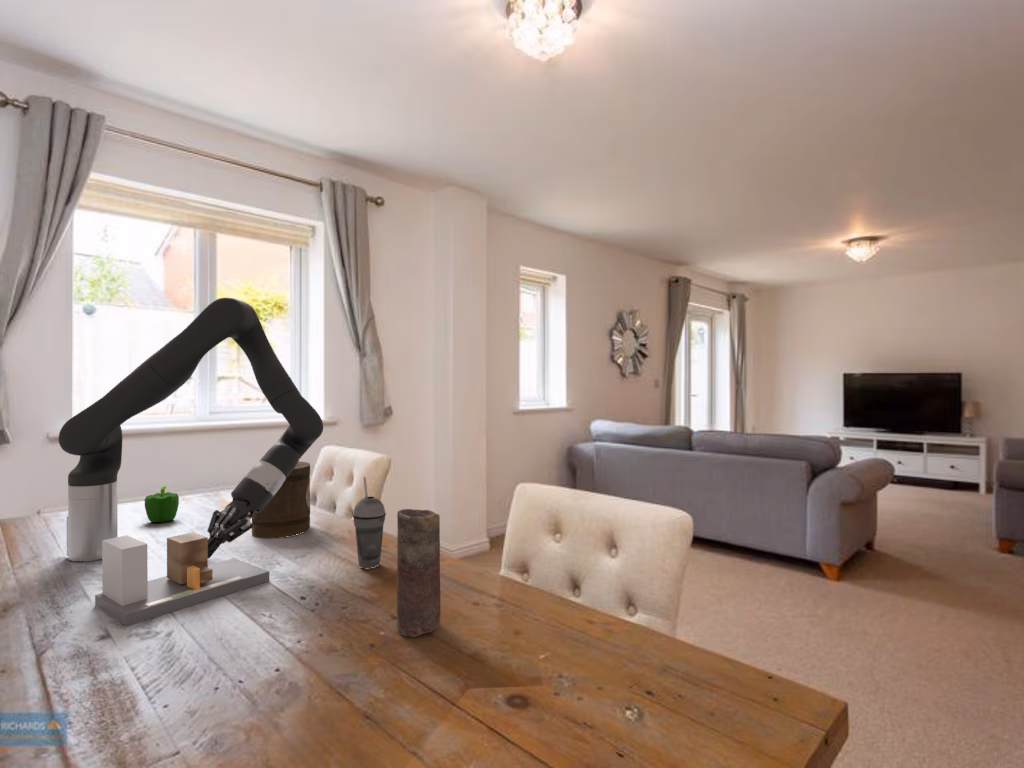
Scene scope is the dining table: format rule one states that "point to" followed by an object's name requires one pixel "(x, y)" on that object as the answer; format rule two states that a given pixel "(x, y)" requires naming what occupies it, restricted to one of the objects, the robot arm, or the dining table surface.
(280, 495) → the wooden container
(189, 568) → the pointer
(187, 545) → the brown block
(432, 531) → the rough stone vase
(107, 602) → the gauge base
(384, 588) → the dining table surface
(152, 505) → the bell pepper
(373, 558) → the beverage cup
